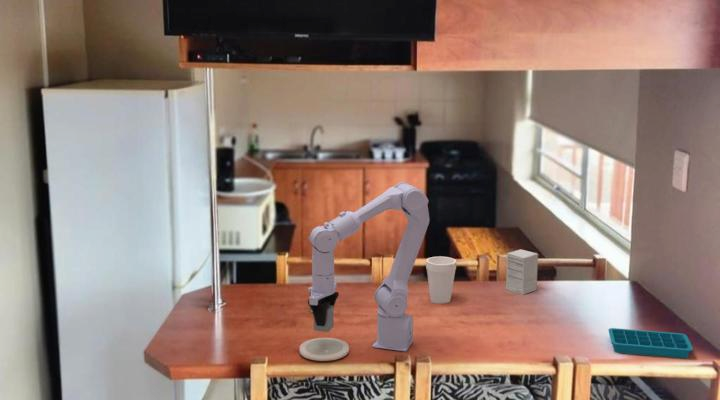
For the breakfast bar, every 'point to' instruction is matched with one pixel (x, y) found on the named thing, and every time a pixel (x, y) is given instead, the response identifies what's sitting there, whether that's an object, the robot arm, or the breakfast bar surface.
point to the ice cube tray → (650, 343)
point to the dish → (324, 349)
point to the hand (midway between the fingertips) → (323, 322)
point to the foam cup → (440, 278)
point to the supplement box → (521, 271)
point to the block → (329, 321)
